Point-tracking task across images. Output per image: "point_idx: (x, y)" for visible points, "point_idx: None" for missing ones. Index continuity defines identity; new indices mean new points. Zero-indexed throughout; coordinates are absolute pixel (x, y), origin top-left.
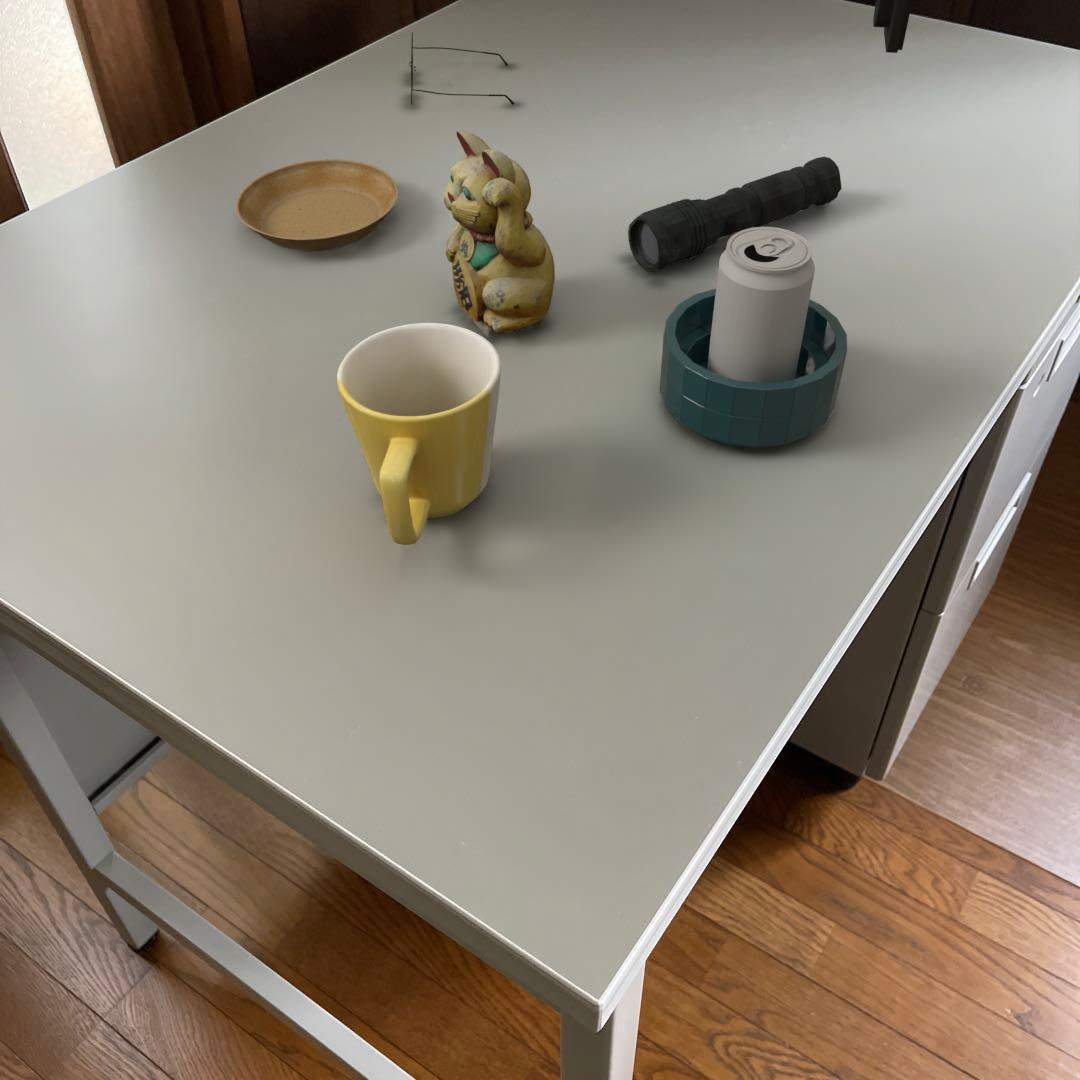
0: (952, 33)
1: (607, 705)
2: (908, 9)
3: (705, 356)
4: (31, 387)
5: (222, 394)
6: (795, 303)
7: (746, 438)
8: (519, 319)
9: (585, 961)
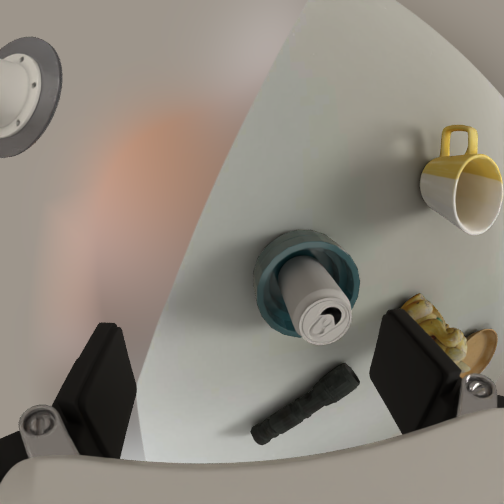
0: None
1: (350, 59)
2: (411, 341)
3: None
4: None
5: (499, 234)
6: (301, 291)
7: (303, 231)
8: (412, 301)
9: None
